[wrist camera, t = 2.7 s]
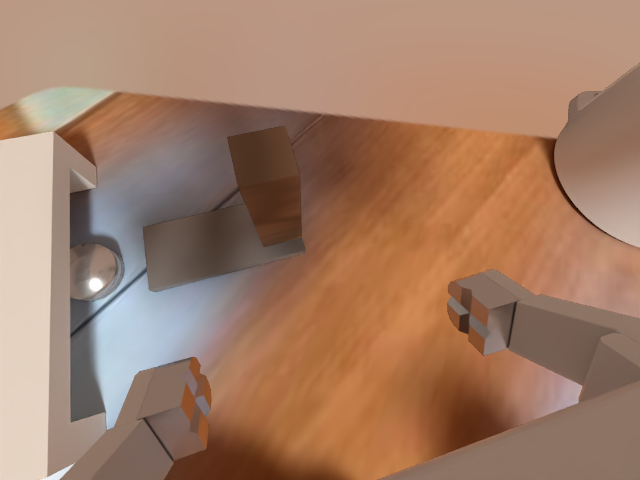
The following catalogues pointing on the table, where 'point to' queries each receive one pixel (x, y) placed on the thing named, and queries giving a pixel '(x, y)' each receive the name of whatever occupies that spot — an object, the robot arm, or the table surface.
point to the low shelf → (38, 307)
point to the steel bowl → (94, 271)
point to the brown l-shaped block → (234, 219)
